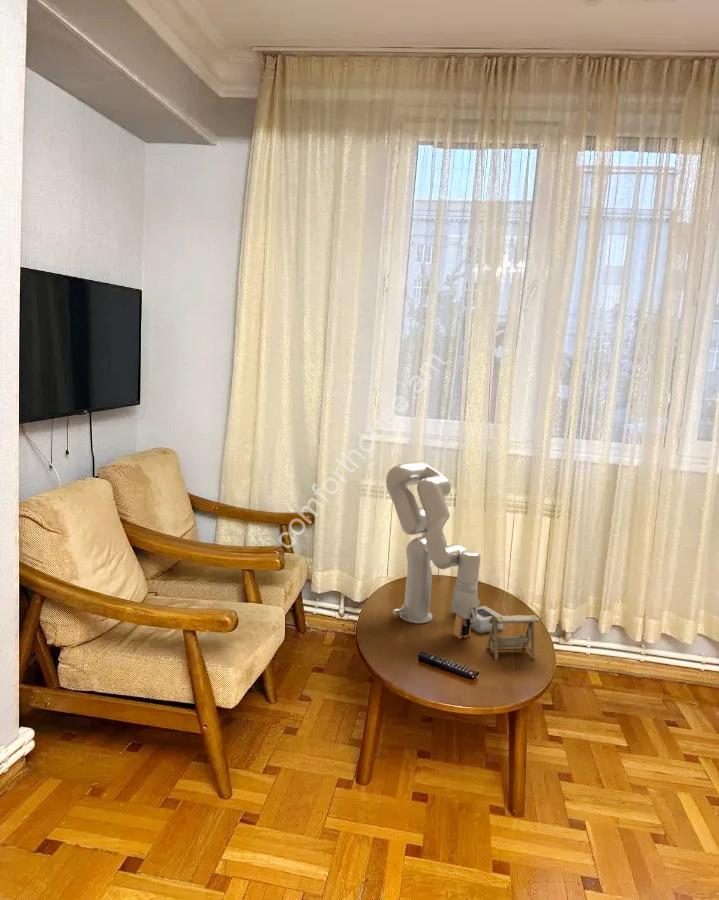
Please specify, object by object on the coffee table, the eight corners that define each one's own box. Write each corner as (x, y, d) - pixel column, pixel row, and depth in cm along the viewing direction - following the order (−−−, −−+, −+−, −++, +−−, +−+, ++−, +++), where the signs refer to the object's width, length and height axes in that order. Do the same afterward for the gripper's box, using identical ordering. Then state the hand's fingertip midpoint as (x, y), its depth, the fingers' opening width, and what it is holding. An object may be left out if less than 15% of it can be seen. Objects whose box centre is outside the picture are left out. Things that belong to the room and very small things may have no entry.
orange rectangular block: (469, 636, 248) (472, 615, 247) (458, 638, 246) (460, 617, 245) (464, 633, 251) (466, 612, 250) (453, 635, 249) (455, 614, 247)
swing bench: (524, 647, 243) (529, 608, 240) (535, 660, 233) (540, 619, 231) (485, 648, 240) (489, 608, 238) (494, 660, 231) (499, 619, 228)
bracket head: (479, 633, 252) (484, 581, 248) (446, 612, 269) (451, 563, 266) (502, 629, 257) (508, 578, 254) (469, 608, 275) (474, 561, 271)
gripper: (445, 578, 251) (440, 625, 254) (472, 594, 237) (467, 644, 239) (461, 576, 254) (457, 623, 257) (489, 591, 240) (484, 641, 243)
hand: (462, 632), depth 248 cm, fingers closed on orange rectangular block, 2 cm apart
